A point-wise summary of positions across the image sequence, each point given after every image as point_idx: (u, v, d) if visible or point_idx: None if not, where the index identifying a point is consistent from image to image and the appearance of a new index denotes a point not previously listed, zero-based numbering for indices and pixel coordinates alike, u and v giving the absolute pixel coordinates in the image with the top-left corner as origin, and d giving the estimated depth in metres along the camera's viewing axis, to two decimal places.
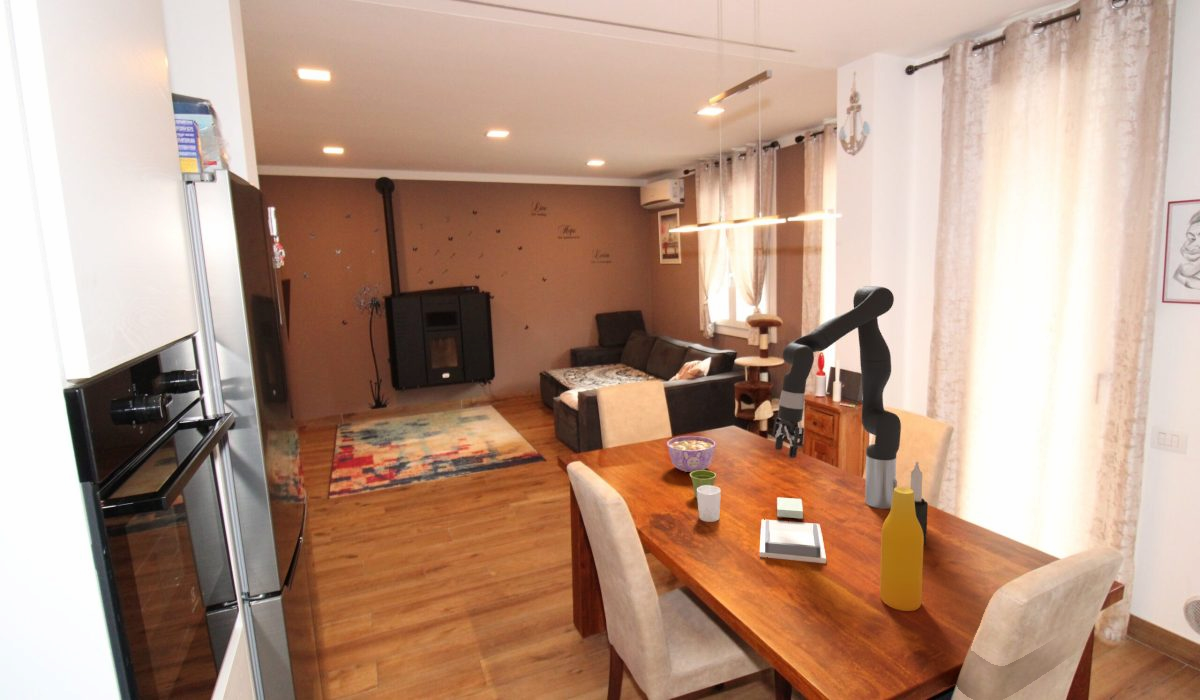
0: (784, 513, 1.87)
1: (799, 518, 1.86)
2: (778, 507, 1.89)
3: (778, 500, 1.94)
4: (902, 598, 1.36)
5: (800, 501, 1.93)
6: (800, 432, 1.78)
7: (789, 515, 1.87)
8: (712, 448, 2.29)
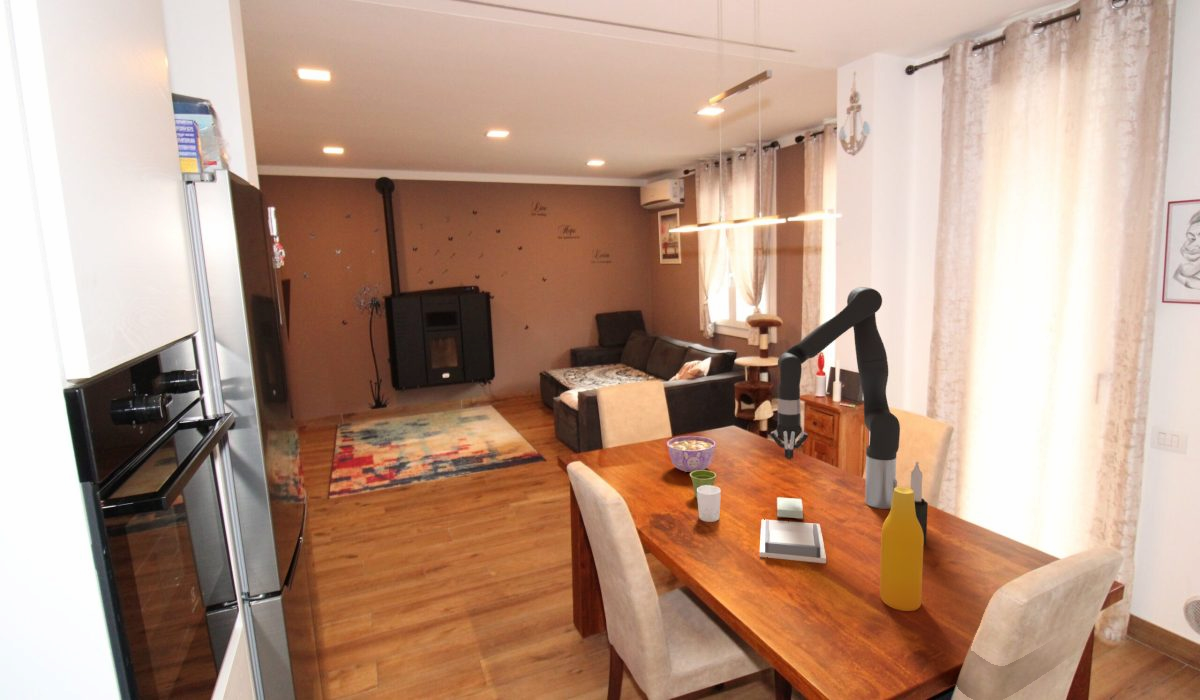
0: (784, 513, 1.87)
1: (799, 518, 1.86)
2: (778, 507, 1.89)
3: (778, 500, 1.94)
4: (902, 598, 1.36)
5: (800, 501, 1.93)
6: None
7: (789, 515, 1.87)
8: (712, 448, 2.29)
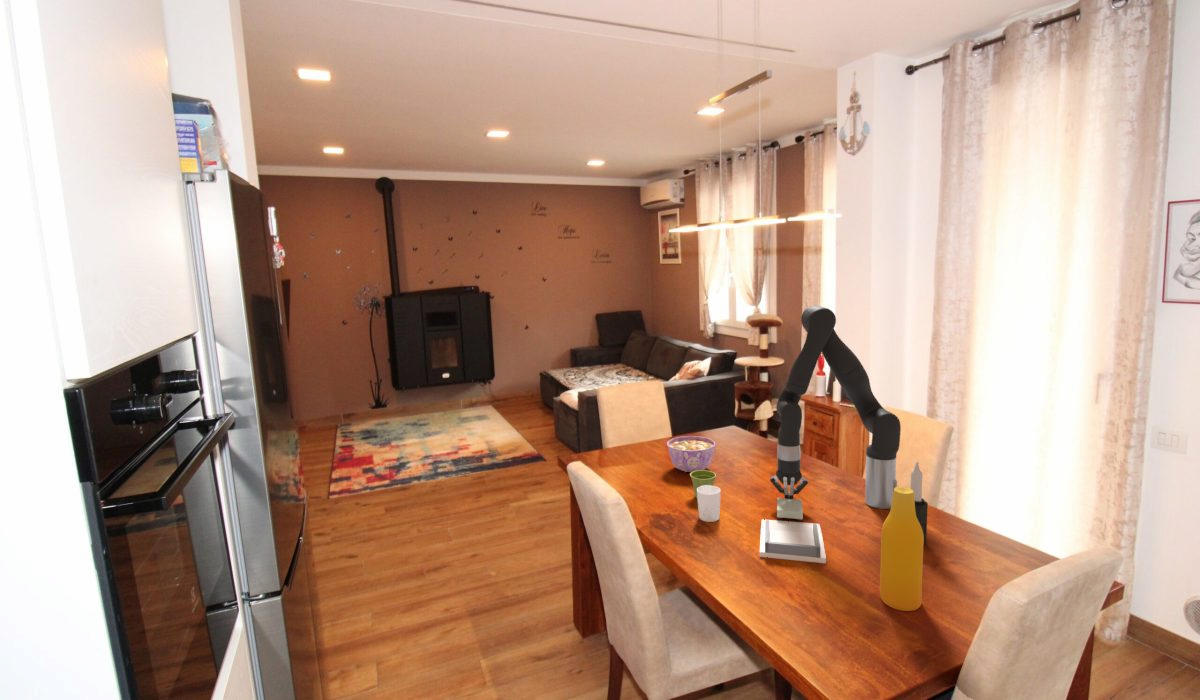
0: (784, 514, 1.87)
1: (799, 519, 1.86)
2: (778, 508, 1.88)
3: (778, 501, 1.94)
4: (902, 598, 1.36)
5: (800, 502, 1.92)
6: None
7: (789, 516, 1.86)
8: (712, 448, 2.29)
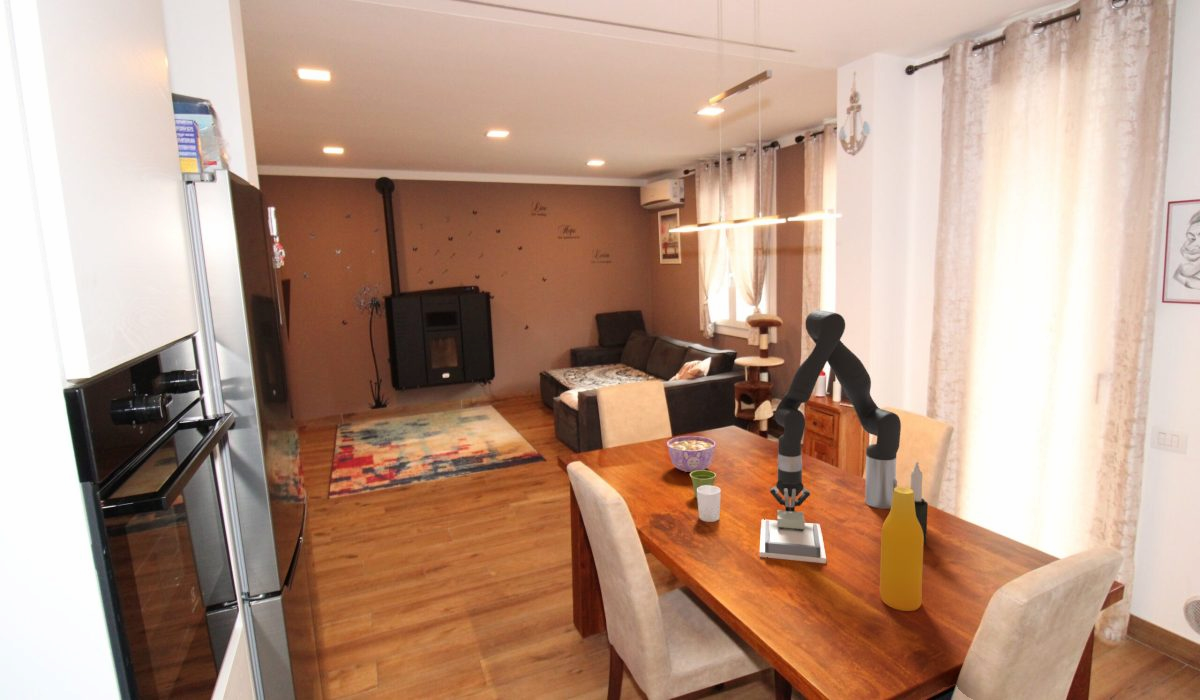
0: (785, 523, 1.77)
1: (801, 529, 1.76)
2: (778, 517, 1.79)
3: (778, 512, 1.84)
4: (902, 598, 1.36)
5: (802, 513, 1.83)
6: None
7: (790, 525, 1.76)
8: (712, 448, 2.29)
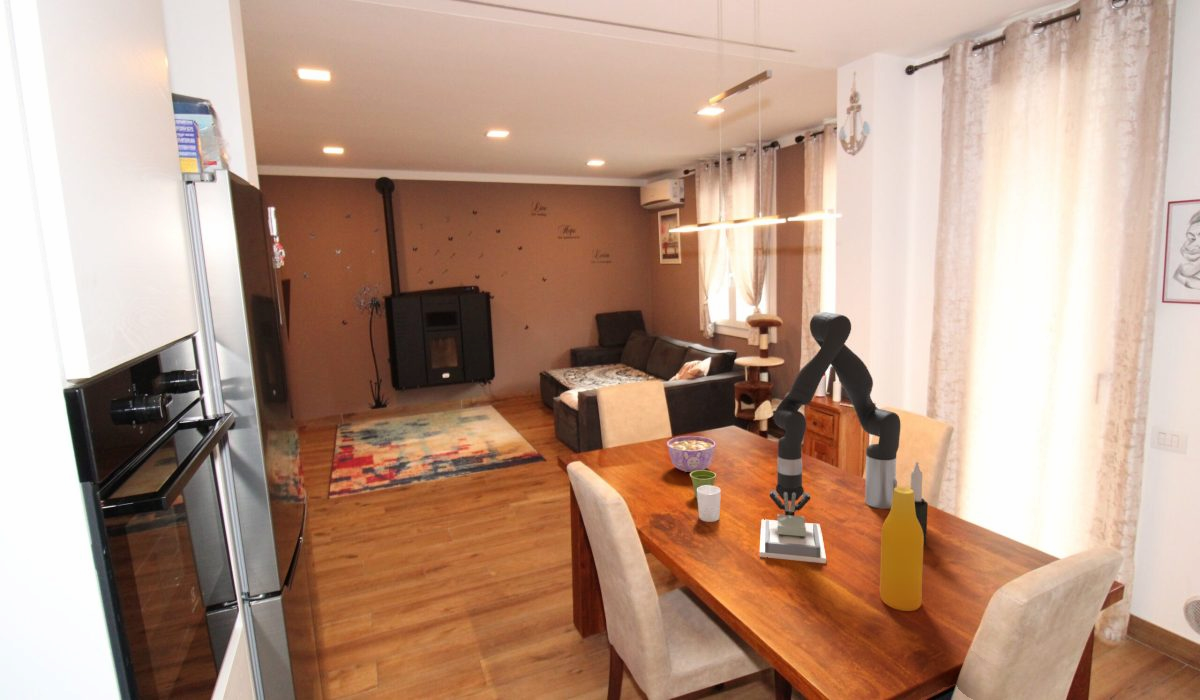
0: (785, 530, 1.72)
1: (802, 536, 1.71)
2: (779, 524, 1.74)
3: (779, 517, 1.79)
4: (902, 598, 1.36)
5: (802, 518, 1.78)
6: None
7: (791, 532, 1.72)
8: (712, 448, 2.29)
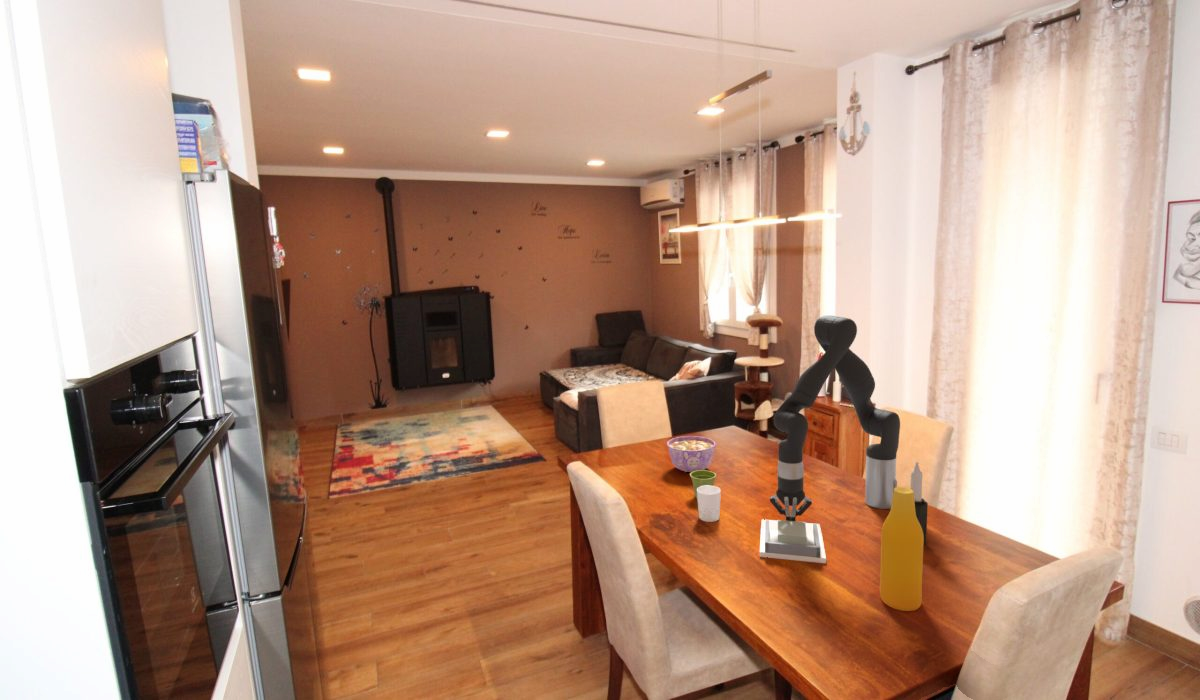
0: (786, 539, 1.67)
1: (802, 544, 1.66)
2: (779, 532, 1.69)
3: (779, 523, 1.74)
4: (902, 598, 1.36)
5: (803, 524, 1.73)
6: None
7: (791, 541, 1.66)
8: (712, 448, 2.29)
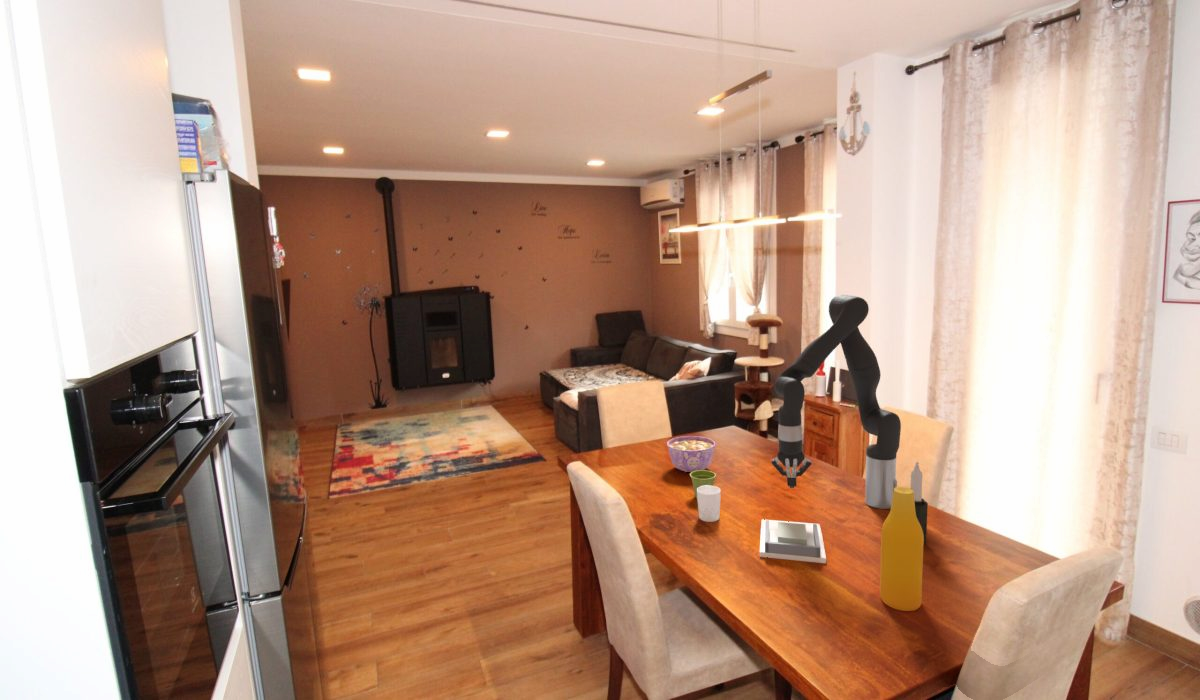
0: (786, 541, 1.65)
1: None
2: (779, 534, 1.67)
3: (779, 525, 1.73)
4: (903, 598, 1.36)
5: (804, 527, 1.71)
6: None
7: None
8: (712, 448, 2.29)
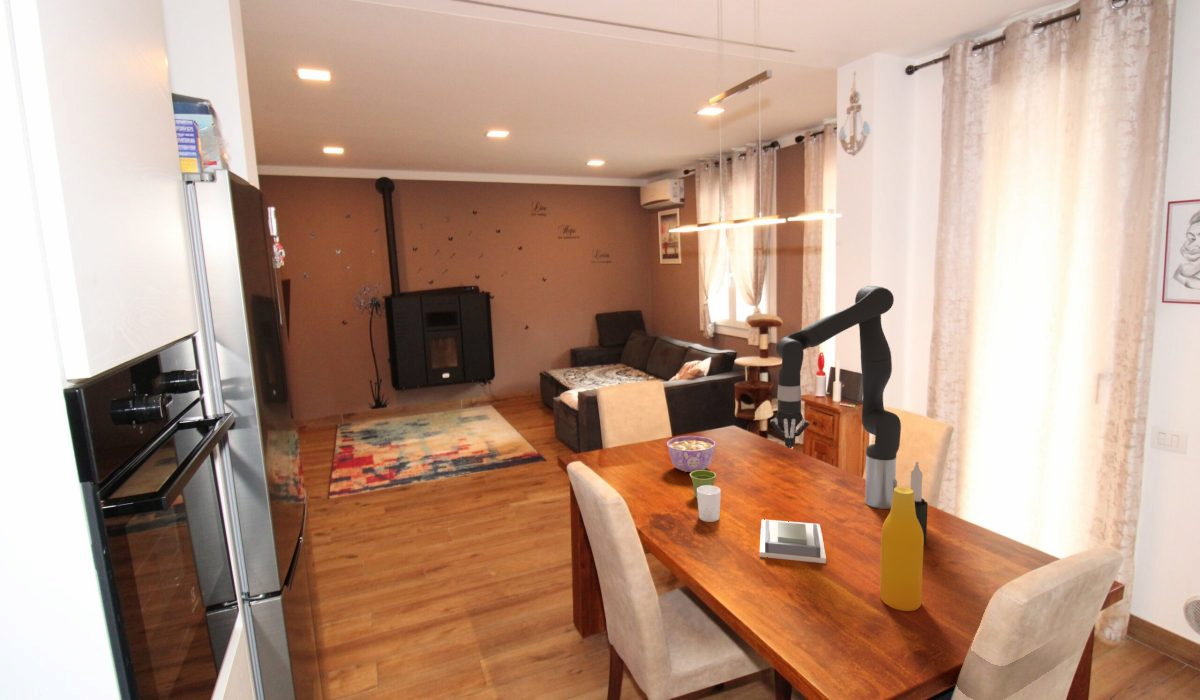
0: (786, 541, 1.65)
1: None
2: (779, 534, 1.67)
3: (779, 525, 1.73)
4: (902, 598, 1.36)
5: (804, 527, 1.71)
6: None
7: None
8: (712, 448, 2.29)
